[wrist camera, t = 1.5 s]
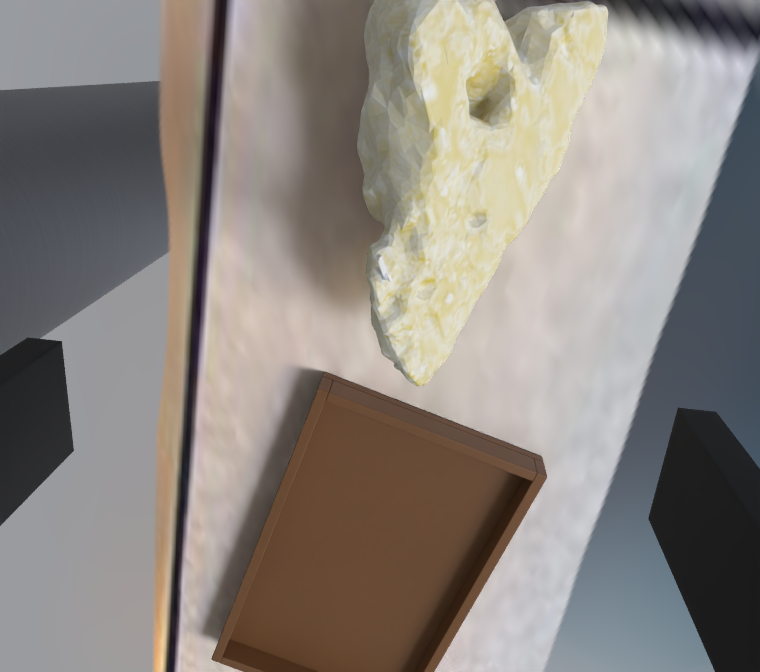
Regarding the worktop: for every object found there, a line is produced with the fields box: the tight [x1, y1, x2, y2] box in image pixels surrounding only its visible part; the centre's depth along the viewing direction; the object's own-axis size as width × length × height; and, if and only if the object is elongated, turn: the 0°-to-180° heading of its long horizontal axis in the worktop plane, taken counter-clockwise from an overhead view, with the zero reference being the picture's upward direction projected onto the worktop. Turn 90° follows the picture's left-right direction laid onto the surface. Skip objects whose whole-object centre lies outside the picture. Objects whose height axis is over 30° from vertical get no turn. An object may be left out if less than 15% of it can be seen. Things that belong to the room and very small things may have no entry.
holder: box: [212, 372, 547, 672], centre depth 41 cm, size 13×21×2 cm, turn 159°
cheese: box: [357, 0, 608, 386], centre depth 30 cm, size 15×7×15 cm
